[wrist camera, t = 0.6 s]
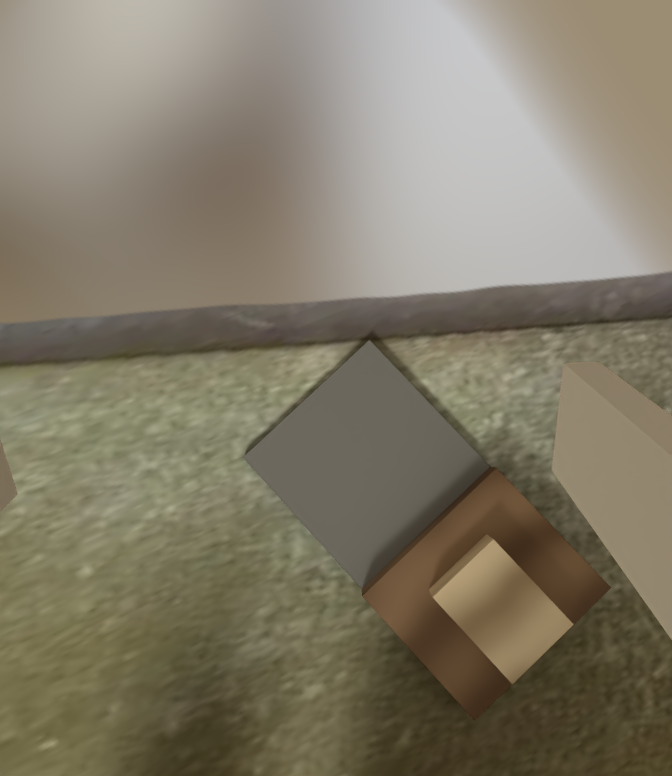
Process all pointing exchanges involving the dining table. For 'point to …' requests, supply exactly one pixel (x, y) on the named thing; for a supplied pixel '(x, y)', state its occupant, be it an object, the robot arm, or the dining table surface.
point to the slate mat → (366, 463)
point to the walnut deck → (444, 549)
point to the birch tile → (500, 608)
